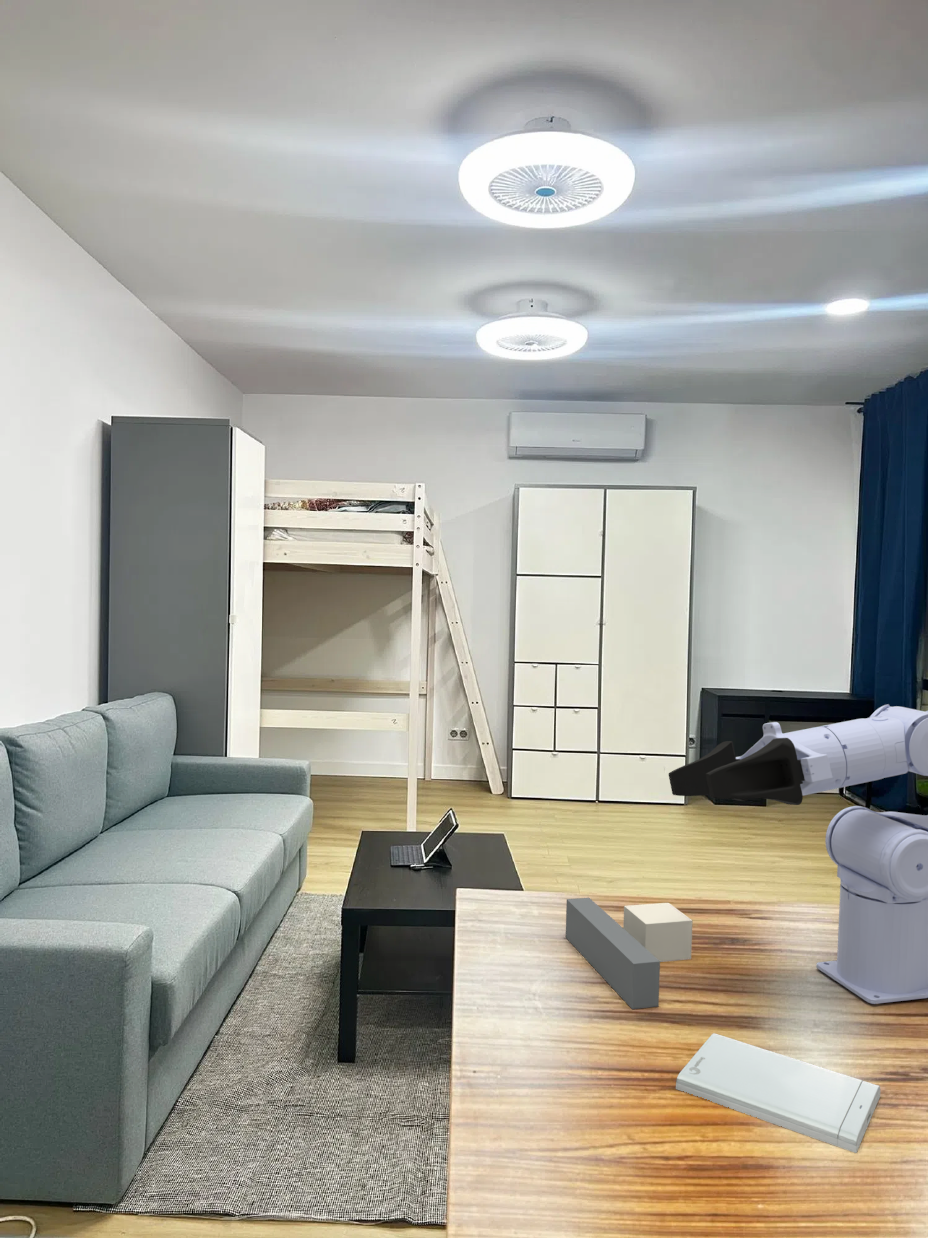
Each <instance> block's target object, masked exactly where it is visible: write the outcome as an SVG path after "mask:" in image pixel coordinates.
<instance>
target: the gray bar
mask: <svg viewBox="0 0 928 1238" xmlns="http://www.w3.org/2000/svg"><path fill="white" fill-rule="evenodd" d="M565 913H566V914H565V939H567V940H568V941H569V942H570V944H571V945H573V947H574V948H575V949H576V950H577V951H578V952H579V954H581V956H582V957H583V958H584V959H585V960H586V961H587V962H588V963H589V964H590V965H591V967H592V968H594V970H596V972H597V973H598V974H599V975H600V976H601V978H603V979H604V980H605V982H606V983H607V984H608V985H609V986H610V987H612V989H613V990H614V991H615V992H616V994H617V995H619V997H620V998H621V999H622V1000H623V1001H624V1002H625V1003H626V1004H627V1005H628V1006H629V1007H630V1008H631V1010H635V1009H636V1010H637V1009H646V1008H655V1007H656V1008H657V1007H659V1005H660V1004H659V1002H660V1001H659V1000H660V999H659V998H660V977H661V975H660V974H661V973H660V972H661V971H660V970H661V962H660V961H659V960H658V959H657V958H656V957H655V956H654V955H652V954H651V953H650V952H649V951H648V950H647V949H646V948H645V947H644V946H642V945H641V944H640V943H639V942H638V941H637V940H636V939H635V938H634V937H632V936H631V935H630V934H629V933H628V932H627V931H626V930H625V929H624V928H623V927H622V925H621V924H619V923H618V922H617V921H616V920H615V919H613V918H612V917H611V916H610V915H609V914H608V913H607V912H606V911H605V910H604V909H603V908H602V907H600V906H599V905H598V904H597V903H596V902H595V901H593V900H592V898H590V897H578V898H566V910H565Z"/></svg>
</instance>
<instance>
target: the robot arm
mask: <svg viewBox="0 0 928 1238" xmlns="http://www.w3.org/2000/svg"><path fill="white" fill-rule="evenodd" d="M762 733H763V736H762V737H761V738H760V739H759V740H758V741H757V742H756V743H755V744H753V746H751V747H750V748H749V749H748V750H747V751H746V752H745V753H744V754H742V755H740V756H736V753H735V752H736V751H735V748H734V742H733V741H732V740H731V741H730V740H729V741H728V740H727V741H723V742H721V743H719V744H717V745H716V747H715V748H714V749H712V750H711V751H710V752H709V753H707V754H705V755H704V756H702V757H700V758H698V759H697V760H695V761H692V762H689V763H687V764H685V765H682V766H680V767H677V768H676V769H674V770H672V771H671V772H669V773H668V778H669V783H670V788H671V793H672V794H671V795H672V796H679V797H697V796H699V797H700V796H710V799H719V800H732V801H738V802H739V801H740V802H747V801H749V799H764V800H770V801H776V802H779V803H783V804H786V805H789V806H790V805H791V806H799V805H801V804H802V802H803V798H804V796H807V795H812V794H817V793H823V792H826V791H827V792H828V791H831V790H832V791H833V790H836V789H842V788H846V787H849V786H856V785H860V784H864V783H869V782H874V781H879V780H882V779H884V778H885V779H886V778H891V777H896V776H900V775H904V774H908V772H910V773H914V774H918V775H921V776H924V777H928V710H926V711H923V710H919V709H915V708H909V707H905V706H897V705H896V706H890V704H889V703H888V704H884V705H882V706H880V707H878V708H877V709H876V710H875V711H874V712H873V713H872V714H871V715H870V716H869V717H867V718H856V719H851V720H846V721H841V722H836V723H830V724H825V725H820V726H816V727H815V726H814V727H810V728H806V729H800V730H793V731H790V732H789V731H788V732H785V733H783V732H782V726H781V725H780V723H779V722H777V721H773V722H767V723H764V724H763V725H762ZM825 848H826V851H827V854H828V856H829V858H830V860H831V861H832V862H833V863H834V864H835V865H836V866H837V871H836V878H838V879H839V881H840V885H839V904H838V905H839V908H838V909H839V910H838V931H837V932H838V933H837V936H838V937H837V958H836V960H829V961H819V962H816V966H815V967H816V969H818V970H819V971H821V972H822V973H824V974H825V975H826V976H828V977H829V978H831V979H832V980H834V981H836V982H837V983H839V984H840V985H841V986H843V987H844V988H846V989H848V990H849V991H850V992H852V993H853V994H855V995H856V996H858V997H859V998H861V999H862V1000H863V1001H865V1002H867V1003H869V1004H872V1005H877V1004H884V1003H893V1002H901V1001H902V1002H903V1001H911V1000H912V1001H914V1000H920V999H928V814H927V815H925V814H923V815H922V814H915V813H906V812H898V811H883V812H882V811H881V812H879V811H874V810H871V809H870V808H868V807H865V806H861V805H853V806H852V805H851V806H849V807H845V808H844V809H841V810H840V811H839V812H838V813H836V814H835V815H834V816H833V818H832V819H831V820H830V822H829V824H828V826H827V829H826V833H825Z"/></svg>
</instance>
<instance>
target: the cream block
mask: <svg viewBox="0 0 928 1238" xmlns="http://www.w3.org/2000/svg"><path fill="white" fill-rule="evenodd" d="M622 926H623V927H622V928H624V929H625V930H626V931H627V932H628V933H629V934H630V935H631V936H632V937H634V938H635V939H636V940H637V941H638V942H639V943H640V944H641V945H642V946H644V947H645V948H646V949H647V950H648V951H649V952H650V953H651V954H652V955H654V956H655V957H656V958H657V959H658V960H659V961H660V963H661V962H662V963H663V962H675V961H683V960H685V961H686V960H692V947H693V946H692V944H693V919H691V918H690V917H689V916H687V915H686V914H684V913H683V912H682V911H680V910H679V909H678V908H676V906H674V905H673V904H671V903H669V902H661V903H659V902H657V903H646V904H645V903H644V904H635V905H634V904H631V905H624V906H623V924H622Z"/></svg>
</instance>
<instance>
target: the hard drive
mask: <svg viewBox="0 0 928 1238" xmlns="http://www.w3.org/2000/svg"><path fill="white" fill-rule="evenodd" d="M675 1082H676V1083H675V1090H678V1091H681V1092H683V1091H684V1092H683V1093H686V1092H687V1093H686V1094H688V1093H689V1095H691V1094H693V1095H692V1096H695V1097H697V1096H698V1097H697V1098H700V1097H702V1098H704V1099H703V1100H705V1099H707V1100H706V1101H708V1100H710V1101H709V1102H711V1101H712V1102H711V1103H714V1104H716V1103H717V1105H720V1106H722V1105H723V1106H722V1107H725V1108H728V1107H729V1108H728V1109H730V1110H733V1109H734V1111H737V1112H739V1113H741V1114H744V1113H745V1115H748V1116H750V1115H751V1116H750V1117H753V1118H756V1117H757V1118H756V1119H758V1120H762V1121H765V1122H767V1123H770V1124H773V1125H775V1126H779V1127H781V1126H782V1127H781V1128H784V1129H787V1130H790V1131H792V1132H796V1133H798V1134H801V1135H803V1136H806V1137H810V1138H812V1139H815V1140H818V1141H821V1142H824V1143H827V1144H830V1145H832V1146H835V1147H838V1148H840V1149H844V1150H846V1151H849V1152H852V1153H854V1154H857V1153H858V1150H859V1148H860V1145H861V1142H862V1140H863V1138H864V1137H865V1134H866V1131H867V1129H868V1126H869V1124H870V1121H871V1119H872V1117H873V1115H874V1112H875V1110H876V1107H877V1105H878V1103H879V1100H880V1098H881V1085H878V1084H874V1083H873V1082H872V1083H871V1082H868V1081H865V1080H863V1079H860V1078H856V1077H853V1076H849V1075H847V1074H844V1073H842V1072H841V1073H840V1072H838V1071H834V1070H831V1069H828V1068H825V1067H821V1066H820V1065H819V1066H818V1065H815V1064H812V1063H810V1062H806V1061H803V1060H801V1059H798V1058H794V1057H791V1056H788V1055H784V1054H781V1053H779V1052H774V1051H771V1050H769V1049H765V1048H762V1047H759V1046H757V1045H753V1044H749V1043H747V1042H744V1041H740V1040H737V1039H734V1038H731V1037H728V1036H724V1035H721V1034H717V1033H715V1032H713V1033H711V1035H710V1036H709V1037H708V1038H707V1040H706V1041H705V1042H704V1043H703V1044H702V1046H700V1047H699V1049H698V1050H697V1051H696V1052H695V1054H694V1055H693V1056H692V1057H691V1059H690V1060H689V1061H688V1063H686V1064H685V1066H684V1067H683V1068H682V1070H680V1072H679V1073H678V1075H677V1077H676V1081H675ZM702 1098H701V1099H702Z"/></svg>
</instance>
